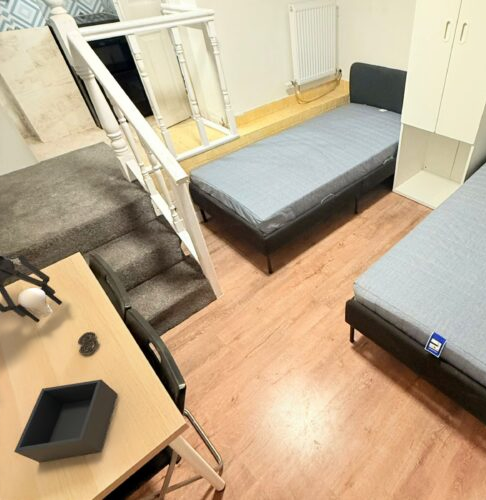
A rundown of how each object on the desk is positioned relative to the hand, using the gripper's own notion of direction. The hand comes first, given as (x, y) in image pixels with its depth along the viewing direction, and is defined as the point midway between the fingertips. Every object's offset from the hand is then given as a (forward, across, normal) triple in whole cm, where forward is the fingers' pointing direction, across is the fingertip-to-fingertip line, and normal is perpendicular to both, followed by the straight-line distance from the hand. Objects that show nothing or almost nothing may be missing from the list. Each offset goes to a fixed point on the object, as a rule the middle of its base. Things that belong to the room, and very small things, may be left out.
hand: (49, 312), depth 97 cm
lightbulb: (0, 0, +5) cm, 5 cm away
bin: (+27, -17, -18) cm, 36 cm away
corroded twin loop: (+14, -1, -5) cm, 15 cm away
